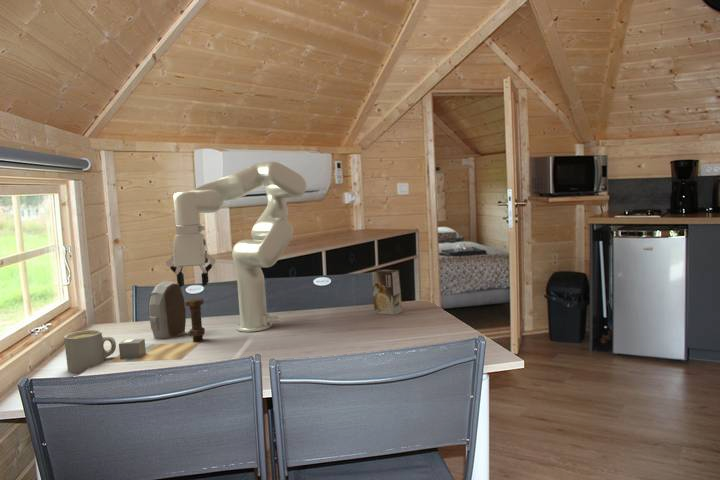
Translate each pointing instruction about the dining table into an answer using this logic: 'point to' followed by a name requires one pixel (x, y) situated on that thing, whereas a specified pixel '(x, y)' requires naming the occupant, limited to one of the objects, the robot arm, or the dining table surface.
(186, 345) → the yellow striped flat sheet
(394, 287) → the coffee box
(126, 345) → the grey block
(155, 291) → the small grey backpack
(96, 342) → the coffee mug
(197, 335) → the bolt
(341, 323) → the dining table surface
